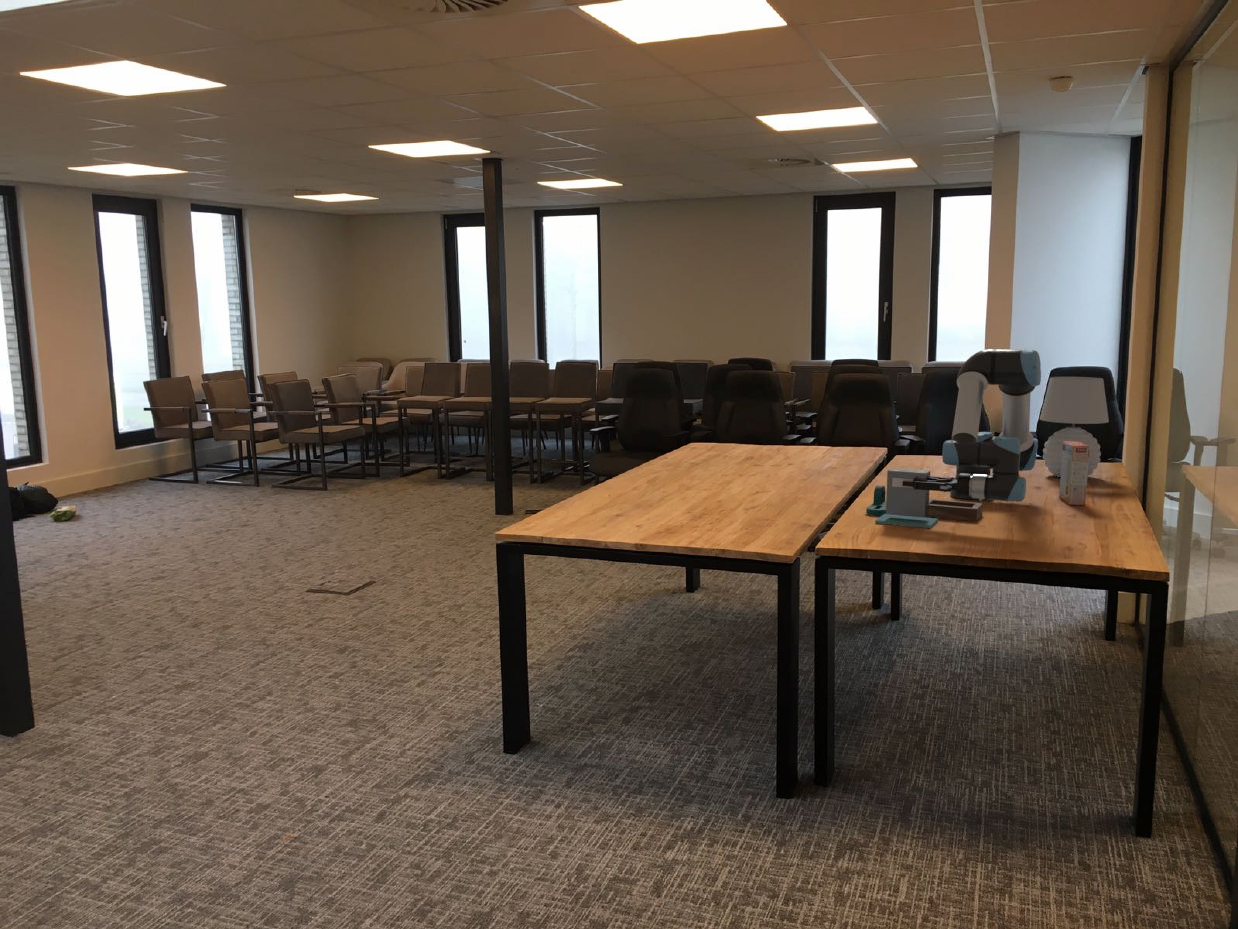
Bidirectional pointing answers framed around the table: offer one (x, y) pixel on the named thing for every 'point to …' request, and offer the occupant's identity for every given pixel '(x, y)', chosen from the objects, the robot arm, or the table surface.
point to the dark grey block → (907, 494)
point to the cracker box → (1074, 472)
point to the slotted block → (955, 510)
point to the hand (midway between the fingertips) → (895, 480)
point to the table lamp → (1073, 417)
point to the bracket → (878, 502)
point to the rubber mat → (907, 521)
